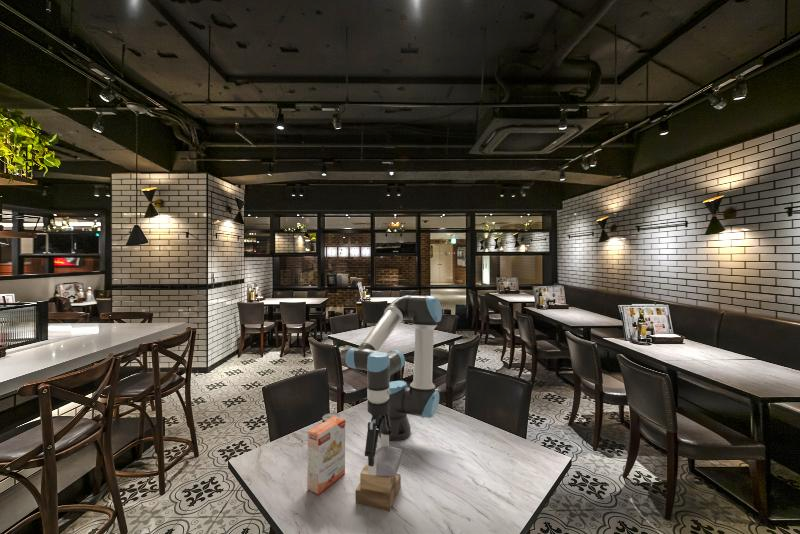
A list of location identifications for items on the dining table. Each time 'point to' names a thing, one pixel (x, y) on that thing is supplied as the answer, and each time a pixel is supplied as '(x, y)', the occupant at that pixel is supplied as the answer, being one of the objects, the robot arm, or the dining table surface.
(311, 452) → the cracker box
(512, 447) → the dining table surface
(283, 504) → the dining table surface
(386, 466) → the stone block
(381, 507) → the tower base block
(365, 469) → the tower top block
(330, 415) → the canned tomato
